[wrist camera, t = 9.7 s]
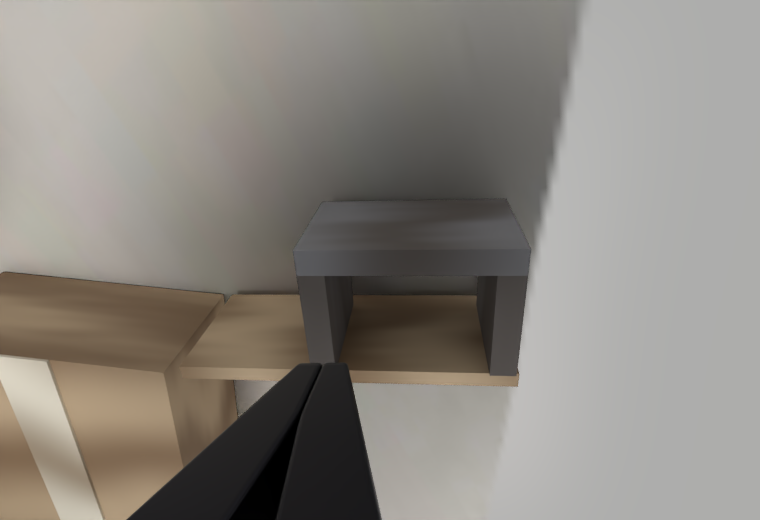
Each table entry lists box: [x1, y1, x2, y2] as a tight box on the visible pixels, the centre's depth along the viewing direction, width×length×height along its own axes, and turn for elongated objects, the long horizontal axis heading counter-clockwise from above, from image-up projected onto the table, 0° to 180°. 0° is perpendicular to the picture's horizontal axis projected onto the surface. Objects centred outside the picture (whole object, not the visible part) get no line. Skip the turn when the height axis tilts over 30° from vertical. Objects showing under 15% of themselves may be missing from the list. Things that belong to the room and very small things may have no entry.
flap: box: [179, 199, 531, 386], centre depth 15 cm, size 11×5×5 cm, turn 93°
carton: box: [0, 272, 238, 520], centre depth 20 cm, size 11×10×5 cm
